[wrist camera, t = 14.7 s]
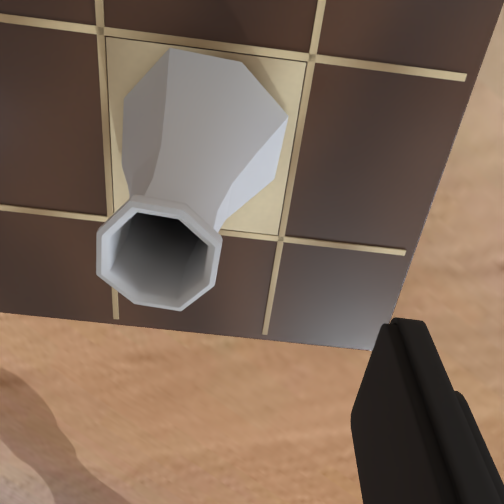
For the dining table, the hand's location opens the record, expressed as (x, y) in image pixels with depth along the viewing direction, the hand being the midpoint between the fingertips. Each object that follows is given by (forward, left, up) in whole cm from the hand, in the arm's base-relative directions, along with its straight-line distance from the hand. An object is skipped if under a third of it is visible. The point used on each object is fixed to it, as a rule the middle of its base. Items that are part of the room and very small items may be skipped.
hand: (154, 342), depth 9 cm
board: (+1, 0, -14) cm, 14 cm away
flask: (0, 0, -13) cm, 13 cm away
